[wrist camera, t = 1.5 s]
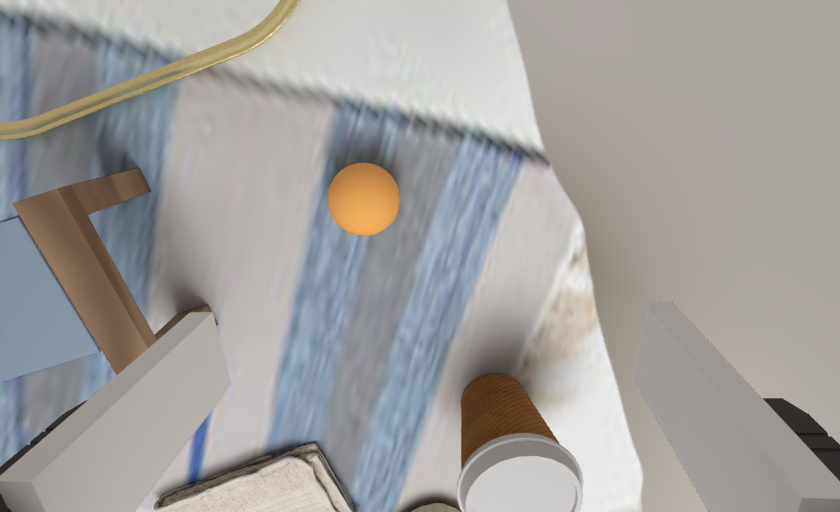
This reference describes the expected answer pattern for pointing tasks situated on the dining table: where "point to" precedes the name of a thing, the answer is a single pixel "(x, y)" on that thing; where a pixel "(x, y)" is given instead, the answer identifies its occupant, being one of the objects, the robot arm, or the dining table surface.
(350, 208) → the ball
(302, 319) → the dining table surface
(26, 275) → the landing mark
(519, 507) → the disposable coffee cup
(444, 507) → the sea urchin shell
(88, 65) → the dining table surface
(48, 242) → the bridge
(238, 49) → the oval ring
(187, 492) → the washcloth
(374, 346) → the dining table surface
